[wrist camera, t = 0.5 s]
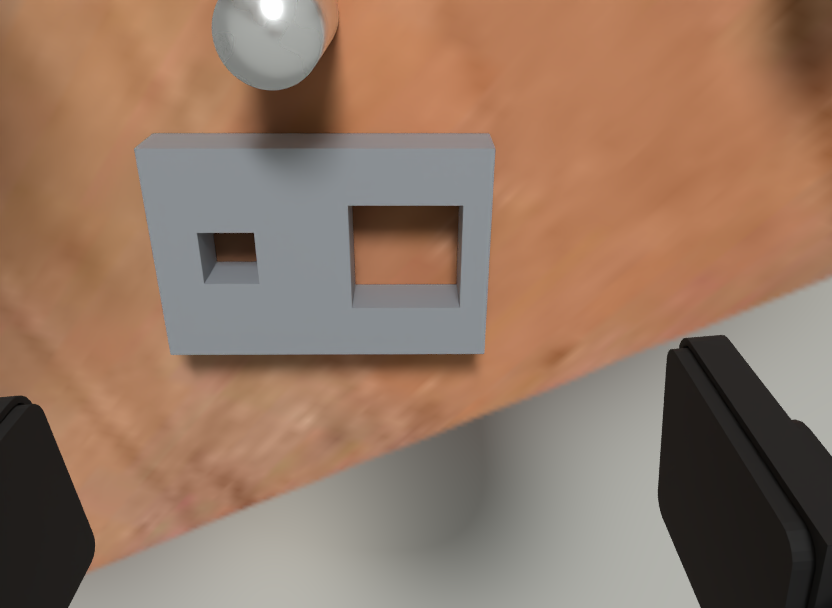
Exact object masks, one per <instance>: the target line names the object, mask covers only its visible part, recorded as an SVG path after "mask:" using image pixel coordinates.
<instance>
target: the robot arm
mask: <svg viewBox="0 0 832 608" xmlns="http://www.w3.org/2000/svg"><path fill="white" fill-rule="evenodd" d="M658 501H659V507H660V511H661V515H662V518H663V520H664V522H665V524H666V527H667V529H668V532H669V534H670V536H671V539H672V541H673V543H674V546H675V548H676V551H677V553H678V555H679V557H680V560H681V562H682V565H683V567H684V569H685V571H686V574H687V576H688V579H689V581H690V583H691V586H692V588H693V590H694V593H695V595H696V597H697V600H698V602H699V604H700V607H701V608H832V456H831V455H830V454H829V452H828V451H827V450H826V449H825V447H824V446H823V445H822V444H821V442H820V441H819V440H818V439H817V437H816V436H815V435H814V434H813V432H812V431H811V430H810V429H809V428H808V427H807V426H806V425H805V424H804V423H803V422H801V421H798V420H791V419H790V418H789V416H788V415H787V414H786V412H785V411H784V410H783V408H782V407H781V406H780V405H779V403H778V402H777V401H776V399H775V398H774V397H773V396H772V394H771V393H770V392H769V390H768V389H767V388H766V387H765V386H764V384H763V383H762V382H761V380H760V379H759V378H758V376H757V375H756V374H755V373H754V371H753V370H752V369H751V367H750V366H749V365H748V363H747V362H746V361H745V360H744V358H743V357H742V356H741V354H740V353H739V352H738V351H737V349H736V348H735V347H734V345H733V344H732V343H731V342H730V340H729V339H728V338H727V337H726V336H725V335H716V336H704V337H692V338H684V339H683V340H682V341H681V343H680V346H679V349H670V350H669V352H668V355H667V364H666V379H665V393H664V408H663V423H662V438H661V452H660V467H659V483H658ZM94 552H95V539H94V535H93V532H92V530H91V527H90V525H89V522H88V520H87V517H86V515H85V512H84V510H83V507H82V505H81V502H80V500H79V498H78V495H77V493H76V490H75V488H74V485H73V483H72V480H71V478H70V475H69V473H68V470H67V468H66V465H65V463H64V460H63V458H62V455H61V453H60V451H59V448H58V446H57V443H56V441H55V438H54V436H53V433H52V431H51V428H50V426H49V423H48V421H47V418H46V416H45V413H44V411H43V410H42V408H41V407H40V406H39V405H36V404H32V403H31V401H30V400H29V399H28V398H27V397H24V396H10V397H0V608H68V606H69V605H70V603H71V601H72V599H73V597H74V595H75V593H76V591H77V589H78V587H79V585H80V583H81V581H82V580H83V578H84V576H85V574H86V572H87V570H88V568H89V566H90V564H91V562H92V559H93V557H94Z"/></svg>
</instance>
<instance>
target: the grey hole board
mask: <svg viewBox="0 0 832 608" xmlns="http://www.w3.org/2000/svg"><path fill="white" fill-rule="evenodd" d="M134 151H135V156H136V162H137V168H138V173H139V179H140V184H141V190H142V196H143V201H144V207H145V213H146V218H147V224H148V229H149V235H150V241H151V246H152V252H153V258H154V263H155V269H156V274H157V280H158V286H159V291H160V297H161V303H162V308H163V314H164V319H165V325H166V331H167V336H168V342H169V348H170V353H171V355H285V354H484V348H485V330H486V311H487V293H488V274H489V256H490V237H491V219H492V200H493V182H494V164H495V147H494V144H493V142H492V139H491V137H490V134H473V133H153V134H151V135H150V136H149V137H148V138H147V139H145V140H144V141H143V142H142V143H140V144H139V145H138V146H137V147H135V148H134ZM352 206H459V222H458V253H457V284H397V285H355V261H354V235H353V210H352ZM213 233H254V238H255V248H256V257H257V262H217V258H216V251H215V243H214V236H213Z"/></svg>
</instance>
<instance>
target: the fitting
mask: <svg viewBox="0 0 832 608" xmlns="http://www.w3.org/2000/svg"><path fill="white" fill-rule="evenodd" d="M338 21H339V10H338V4H337V0H218V2H217V4H216V6H215V9H214V13H213V18H212V36H213V41H214V45H215V48H216V51H217V53H218V55H219V57H220V59H221V60H222V62H223V64H224V65H225V66H226V68H227V69H228V70H229V71H230V72H231V73H232V74H233V75H234V76H235V77H237V78H238V79H239V80H241V81H242V82H244V83H246V84H248V85H250V86H252V87H255V88H258V89H263V90H281V89H286V88H289V87H292V86H294V85H296V84H298V83H299V82H301V81H302V80H303V79H305V78H306V77H307V76H308V75H309V74H310V72H311V71H312V70H313V68H314V67H315V65H316V64H317V62H318V61H319V59H320V58H321V56H322V55H323V53H324V52H325V50H326V49H327V47H328V46H329V44H330V43H331V41H332V39H333V38H334V36H335V33H336V31H337V27H338Z"/></svg>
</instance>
